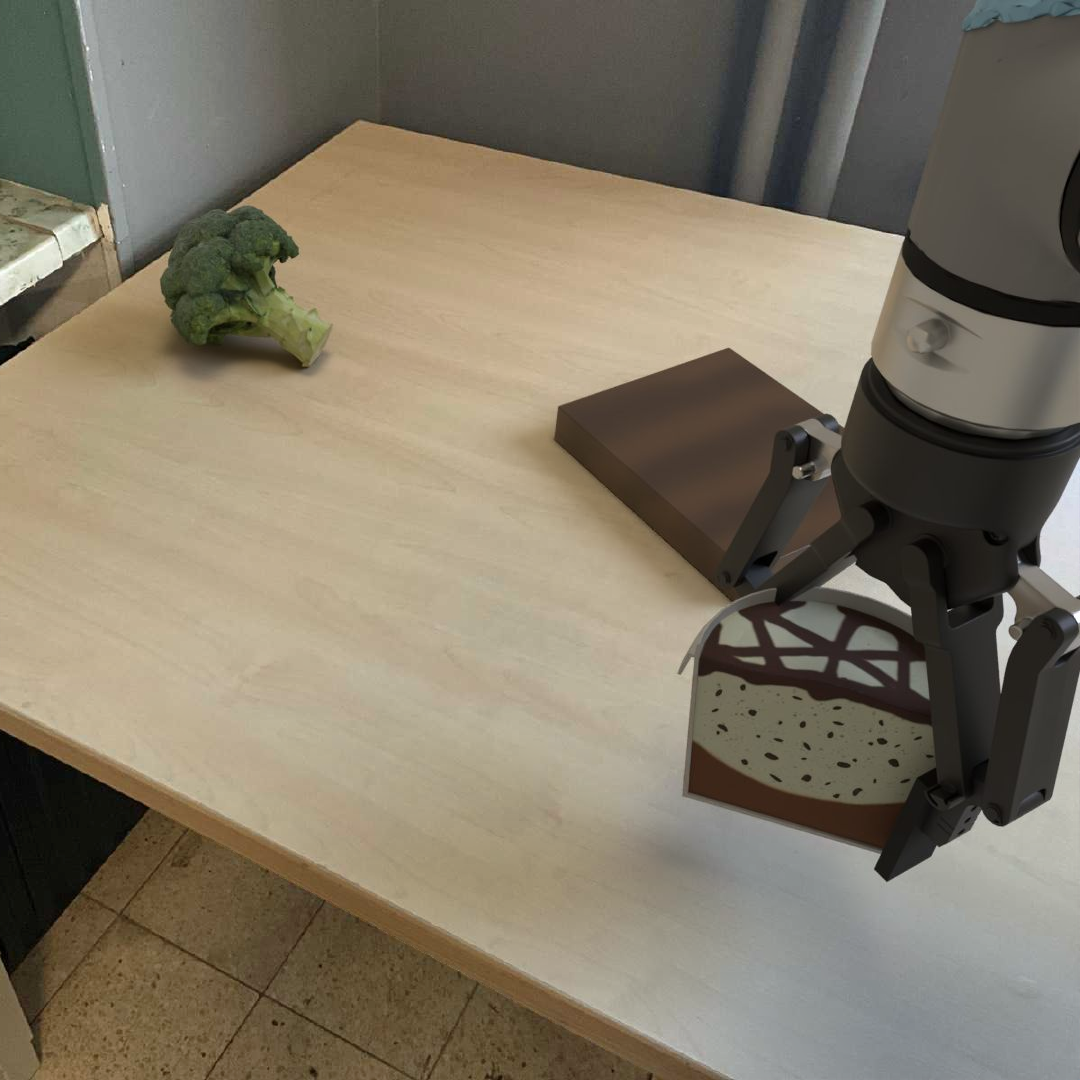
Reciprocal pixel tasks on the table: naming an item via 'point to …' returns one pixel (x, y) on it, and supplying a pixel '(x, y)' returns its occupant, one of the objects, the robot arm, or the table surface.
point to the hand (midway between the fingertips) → (822, 785)
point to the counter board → (693, 452)
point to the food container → (809, 713)
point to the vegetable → (237, 284)
